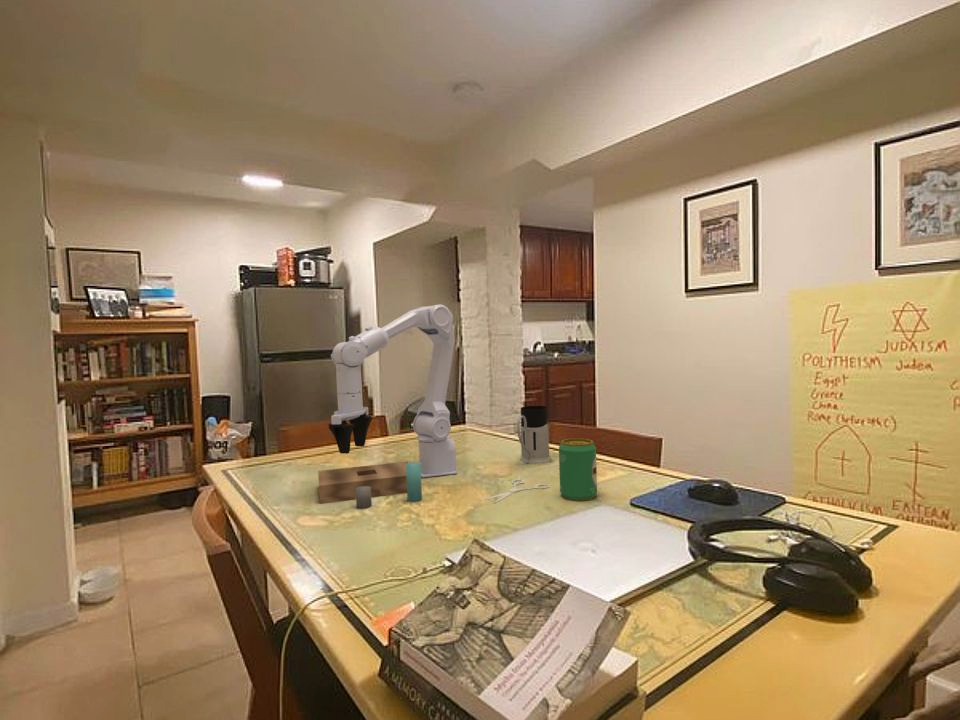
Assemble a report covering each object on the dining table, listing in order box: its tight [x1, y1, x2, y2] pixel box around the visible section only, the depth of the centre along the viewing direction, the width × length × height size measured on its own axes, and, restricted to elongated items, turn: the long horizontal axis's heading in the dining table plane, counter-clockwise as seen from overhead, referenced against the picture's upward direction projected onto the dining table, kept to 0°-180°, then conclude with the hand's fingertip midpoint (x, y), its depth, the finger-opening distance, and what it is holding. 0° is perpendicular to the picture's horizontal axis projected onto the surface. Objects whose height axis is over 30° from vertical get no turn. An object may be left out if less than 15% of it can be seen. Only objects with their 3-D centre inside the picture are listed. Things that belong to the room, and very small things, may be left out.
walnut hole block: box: [317, 461, 409, 504], centre depth 126 cm, size 22×14×4 cm, turn 108°
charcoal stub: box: [355, 486, 373, 510], centre depth 113 cm, size 3×3×4 cm
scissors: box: [478, 476, 551, 504], centre depth 120 cm, size 11×1×20 cm
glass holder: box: [516, 405, 552, 465], centre depth 148 cm, size 9×14×15 cm, turn 148°
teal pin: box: [406, 461, 423, 503], centre depth 116 cm, size 3×3×8 cm
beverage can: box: [558, 437, 598, 502], centre depth 115 cm, size 8×8×12 cm
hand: (352, 449), depth 125 cm, fingers open, 7 cm apart
